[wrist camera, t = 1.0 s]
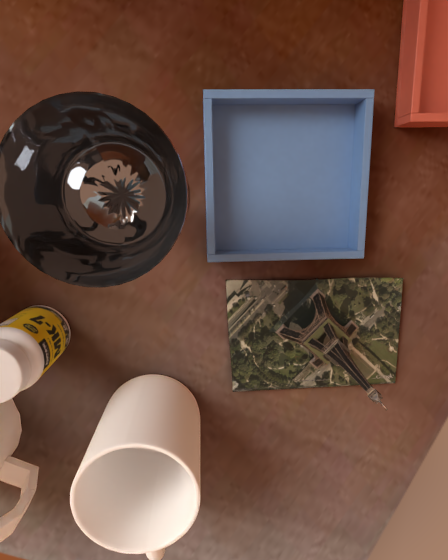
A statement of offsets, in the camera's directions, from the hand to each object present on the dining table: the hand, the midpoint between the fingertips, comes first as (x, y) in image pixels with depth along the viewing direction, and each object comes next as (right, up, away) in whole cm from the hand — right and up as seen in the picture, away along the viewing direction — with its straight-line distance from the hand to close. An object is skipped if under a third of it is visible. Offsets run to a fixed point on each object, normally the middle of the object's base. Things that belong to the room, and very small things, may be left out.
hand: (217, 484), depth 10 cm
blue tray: (+5, +13, +21) cm, 25 cm away
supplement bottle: (-15, +1, +23) cm, 27 cm away
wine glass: (-6, +12, +21) cm, 25 cm away
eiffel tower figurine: (+8, +1, +24) cm, 25 cm away
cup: (-6, -8, +25) cm, 27 cm away
